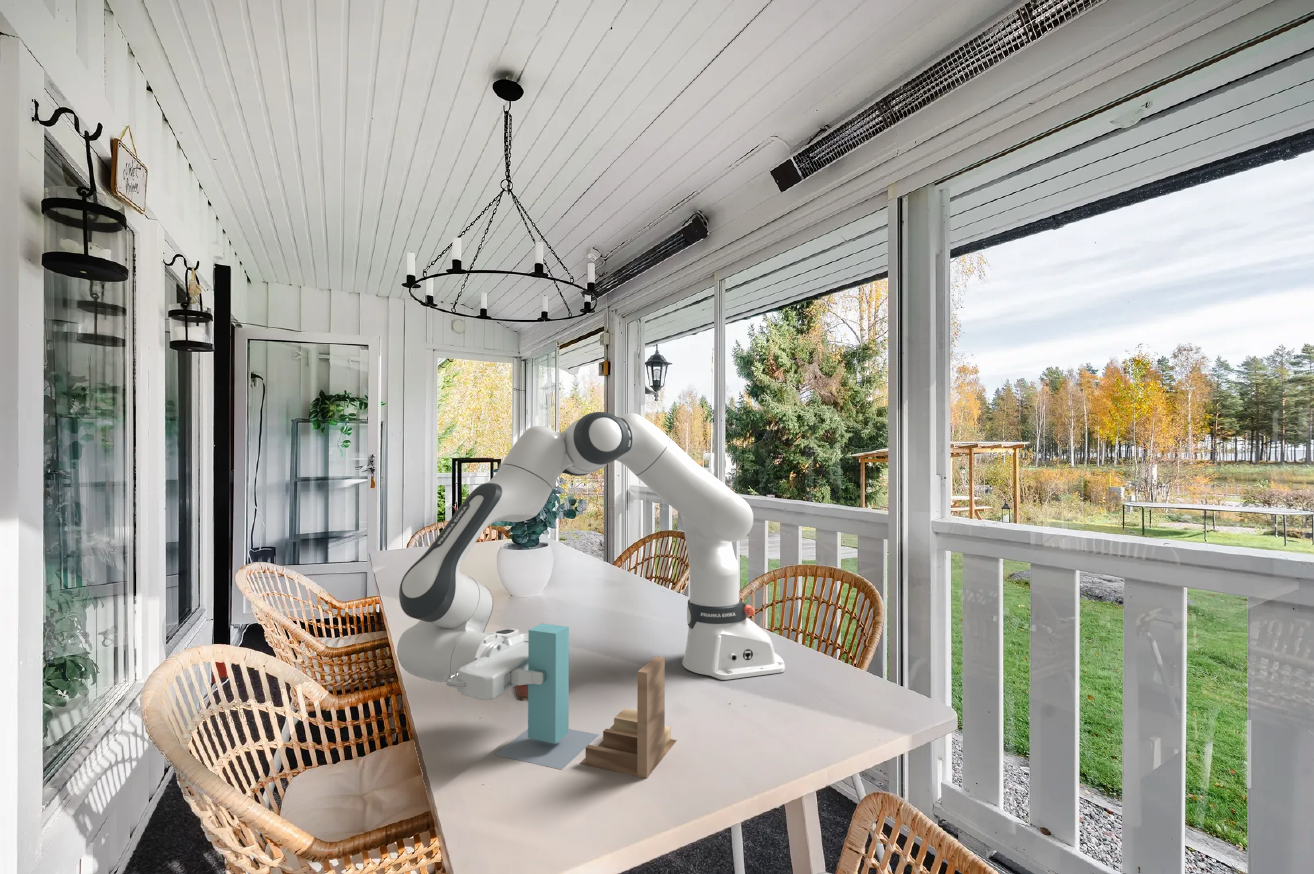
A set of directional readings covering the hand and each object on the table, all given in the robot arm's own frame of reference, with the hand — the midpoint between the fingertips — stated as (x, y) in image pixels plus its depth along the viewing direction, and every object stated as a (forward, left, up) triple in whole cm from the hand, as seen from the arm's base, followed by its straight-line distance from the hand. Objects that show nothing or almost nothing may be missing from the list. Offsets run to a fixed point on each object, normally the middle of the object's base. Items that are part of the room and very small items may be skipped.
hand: (553, 671), depth 99 cm
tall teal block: (+1, 0, -10) cm, 10 cm away
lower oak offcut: (-14, +1, -12) cm, 18 cm away
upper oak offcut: (-14, +1, -10) cm, 17 cm away
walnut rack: (-12, +4, -13) cm, 18 cm away
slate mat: (+1, 0, -13) cm, 13 cm away
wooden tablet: (+4, -35, -13) cm, 37 cm away
